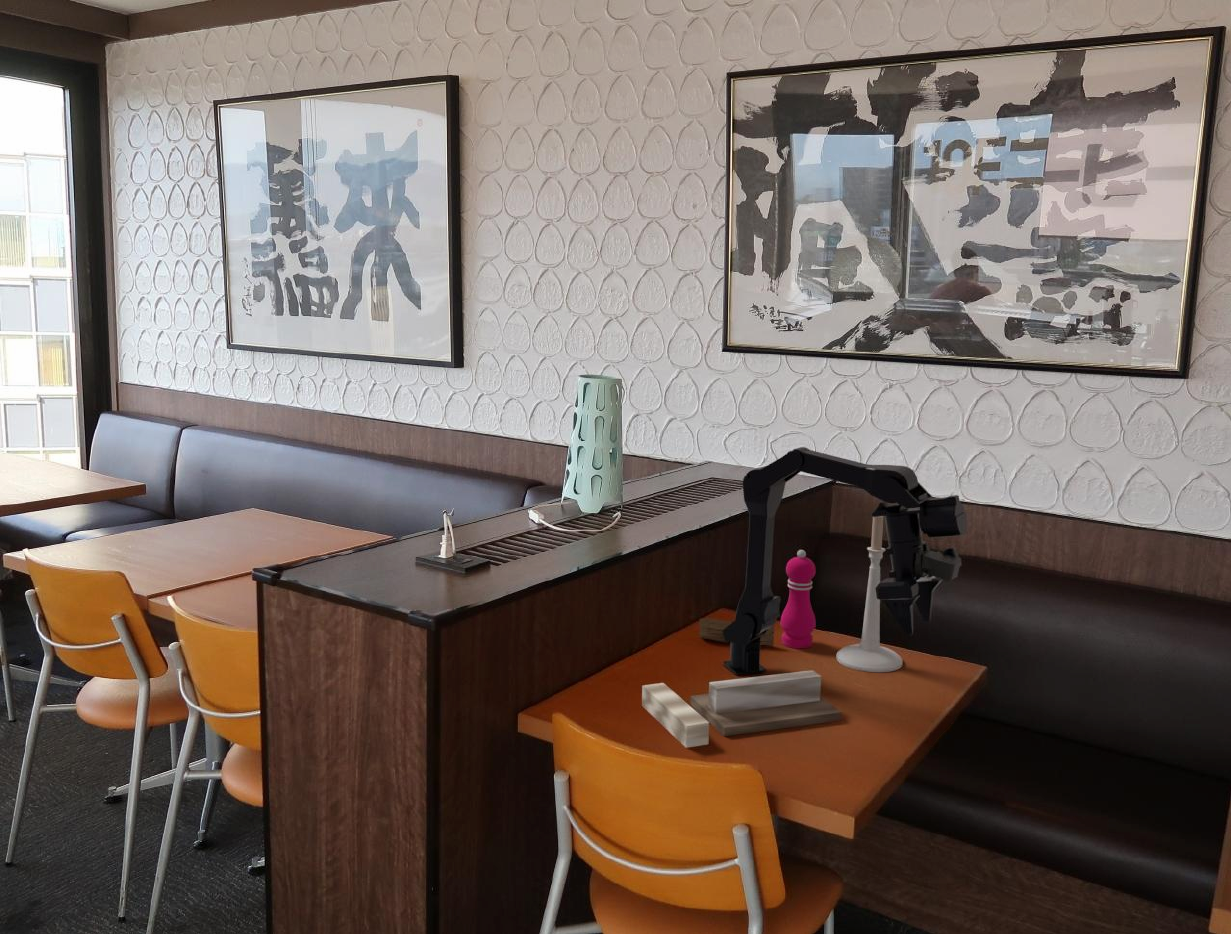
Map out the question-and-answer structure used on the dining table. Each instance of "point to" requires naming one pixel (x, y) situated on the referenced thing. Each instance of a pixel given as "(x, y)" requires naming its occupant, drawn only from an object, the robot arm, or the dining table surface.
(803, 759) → the dining table surface
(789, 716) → the ridge stand
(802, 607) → the pepper mill
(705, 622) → the wood plank
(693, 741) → the cream beige bar
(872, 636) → the candlestick
